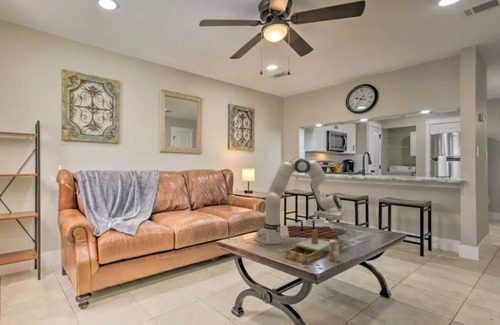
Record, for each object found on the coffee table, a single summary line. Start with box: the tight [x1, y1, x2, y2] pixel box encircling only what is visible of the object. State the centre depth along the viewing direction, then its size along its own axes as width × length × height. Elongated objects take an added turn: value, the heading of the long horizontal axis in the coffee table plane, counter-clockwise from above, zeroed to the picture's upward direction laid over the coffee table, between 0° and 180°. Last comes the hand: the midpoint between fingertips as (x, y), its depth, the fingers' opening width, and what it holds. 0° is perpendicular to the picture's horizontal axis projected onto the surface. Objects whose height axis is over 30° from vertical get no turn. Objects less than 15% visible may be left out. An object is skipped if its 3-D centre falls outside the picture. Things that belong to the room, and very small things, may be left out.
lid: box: [295, 230, 329, 252], centre depth 184 cm, size 17×21×10 cm
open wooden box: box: [285, 245, 325, 265], centre depth 174 cm, size 16×20×5 cm
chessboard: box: [286, 219, 340, 240], centre depth 239 cm, size 40×40×11 cm
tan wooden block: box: [328, 239, 340, 263], centre depth 170 cm, size 4×4×12 cm
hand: (322, 216), depth 192 cm, fingers open, 8 cm apart
